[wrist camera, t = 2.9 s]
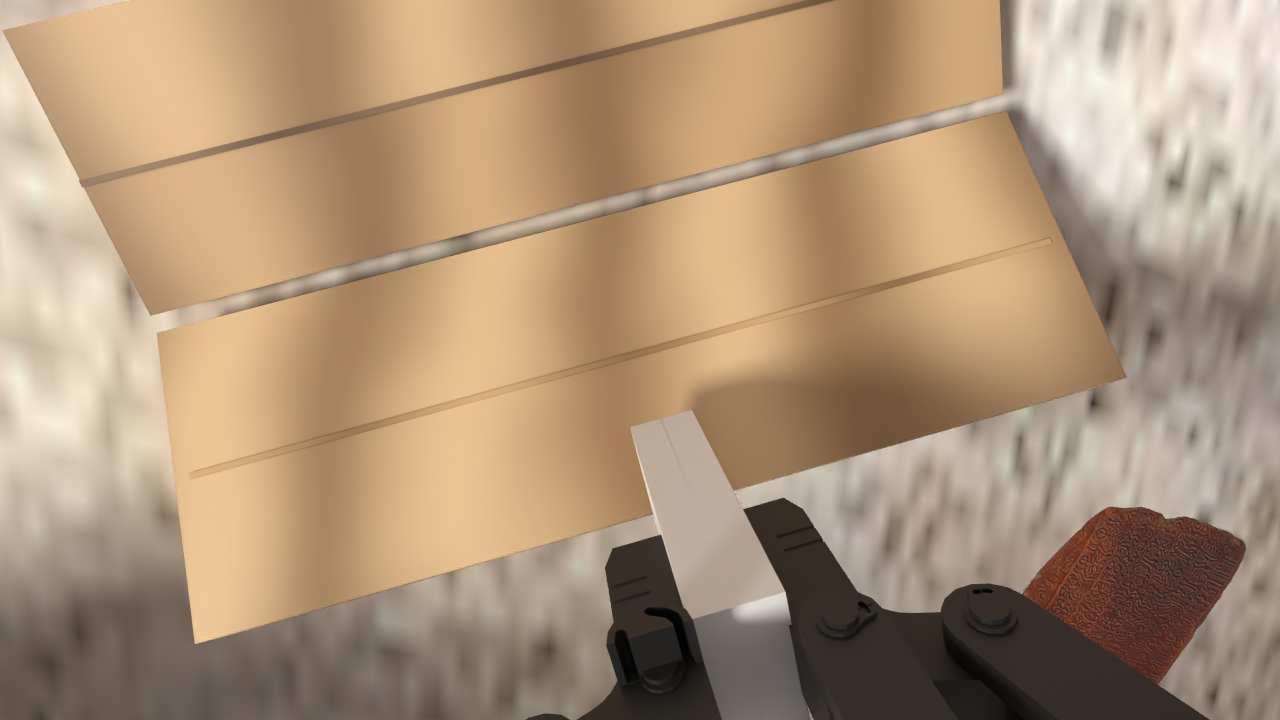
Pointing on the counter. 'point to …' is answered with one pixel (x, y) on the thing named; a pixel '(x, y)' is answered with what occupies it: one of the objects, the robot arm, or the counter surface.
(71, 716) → the counter surface
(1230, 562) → the wooden tablet
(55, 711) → the counter surface
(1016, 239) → the plank
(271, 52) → the laid boards
